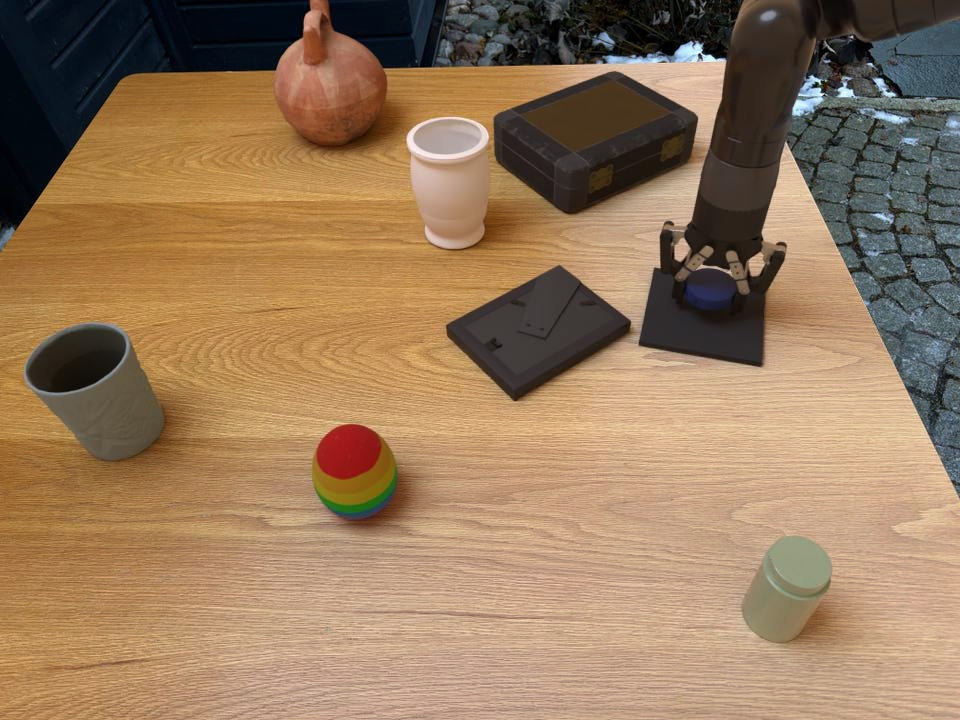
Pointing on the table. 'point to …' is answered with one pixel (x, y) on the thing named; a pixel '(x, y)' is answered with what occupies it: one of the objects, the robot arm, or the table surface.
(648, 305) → the mat
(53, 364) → the grey cup
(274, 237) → the table surface
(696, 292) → the lid
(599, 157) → the cash box
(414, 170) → the jar
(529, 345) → the picture frame
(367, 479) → the decorative egg
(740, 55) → the robot arm
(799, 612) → the spice jar
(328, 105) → the jug
